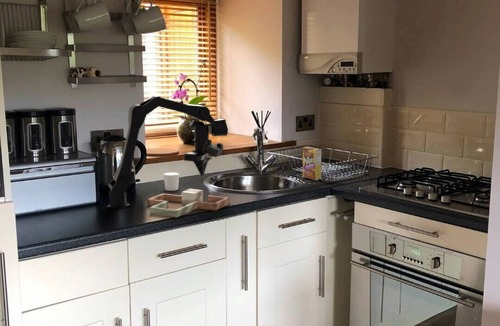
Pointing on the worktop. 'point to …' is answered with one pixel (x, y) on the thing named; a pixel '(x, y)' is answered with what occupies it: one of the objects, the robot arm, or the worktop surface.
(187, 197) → the cream block
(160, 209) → the channel
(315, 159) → the candy box
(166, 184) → the white cup
